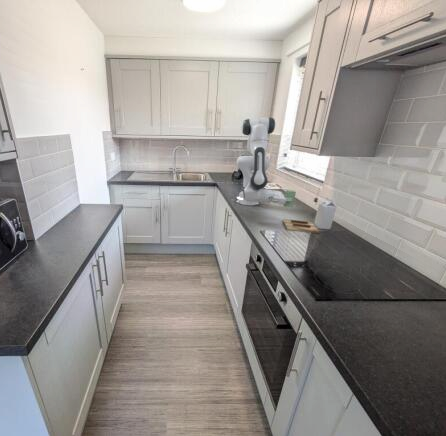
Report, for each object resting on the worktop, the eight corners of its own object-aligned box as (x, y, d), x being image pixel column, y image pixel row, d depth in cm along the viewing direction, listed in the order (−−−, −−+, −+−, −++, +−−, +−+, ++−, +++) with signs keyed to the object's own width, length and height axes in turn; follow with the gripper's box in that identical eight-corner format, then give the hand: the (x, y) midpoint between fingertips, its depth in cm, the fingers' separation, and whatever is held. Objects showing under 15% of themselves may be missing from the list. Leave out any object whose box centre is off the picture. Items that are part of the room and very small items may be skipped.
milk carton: (324, 225, 152) (332, 197, 145) (330, 229, 145) (338, 200, 139) (313, 224, 152) (320, 197, 146) (318, 229, 146) (326, 200, 139)
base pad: (282, 220, 158) (283, 216, 157) (311, 224, 154) (312, 219, 153) (286, 229, 143) (287, 225, 142) (318, 233, 139) (319, 228, 138)
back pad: (283, 204, 152) (286, 189, 149) (291, 205, 151) (294, 190, 148) (284, 206, 149) (287, 191, 145) (292, 207, 148) (296, 191, 144)
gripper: (270, 195, 141) (295, 197, 137) (267, 188, 159) (289, 190, 156) (269, 205, 143) (293, 207, 140) (266, 197, 161) (287, 199, 158)
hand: (291, 198), depth 148 cm, fingers closed on back pad, 4 cm apart
